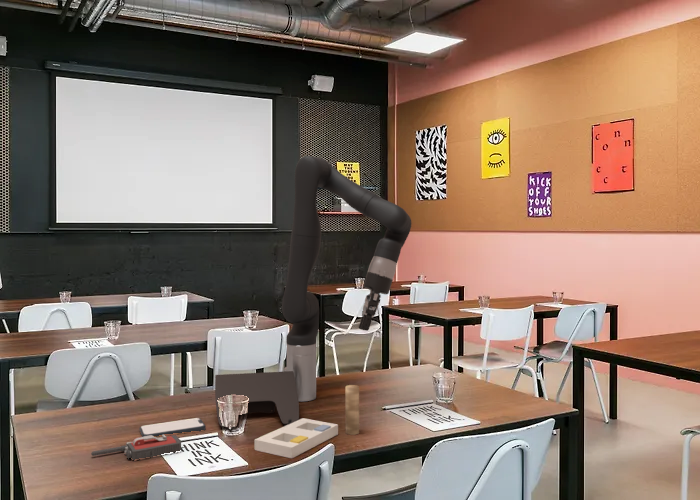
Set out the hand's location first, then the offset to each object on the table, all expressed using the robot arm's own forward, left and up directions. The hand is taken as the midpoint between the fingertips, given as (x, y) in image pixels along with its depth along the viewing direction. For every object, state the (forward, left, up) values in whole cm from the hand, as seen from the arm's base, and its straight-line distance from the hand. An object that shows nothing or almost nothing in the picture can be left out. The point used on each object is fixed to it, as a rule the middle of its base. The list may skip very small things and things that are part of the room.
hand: (363, 329), depth 175 cm
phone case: (-37, -36, -25) cm, 58 cm away
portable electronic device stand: (-24, -17, -25) cm, 39 cm away
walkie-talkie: (-31, -53, -25) cm, 66 cm away
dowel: (+5, -14, -25) cm, 29 cm away
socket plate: (-3, -27, -25) cm, 36 cm away
